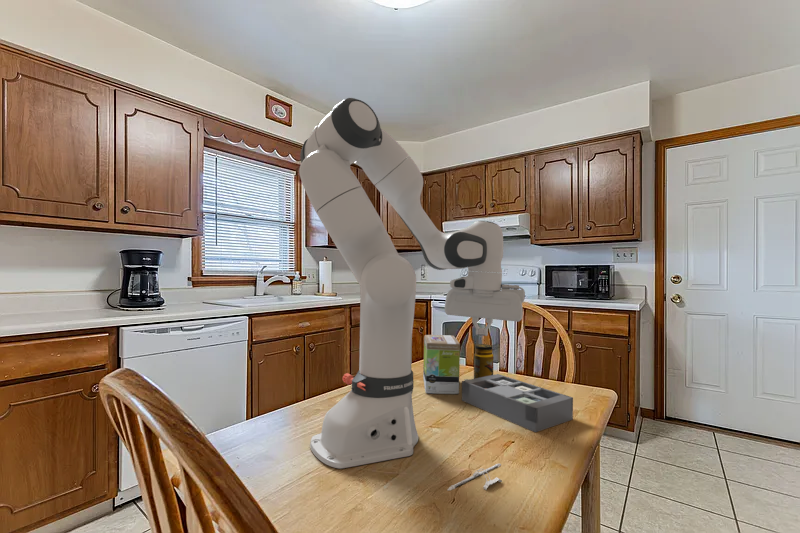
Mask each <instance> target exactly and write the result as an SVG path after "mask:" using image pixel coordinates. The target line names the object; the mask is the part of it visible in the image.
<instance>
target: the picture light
mask: <svg viewBox="0 0 800 533" xmlns="http://www.w3.org/2000/svg"><path fill="white" fill-rule="evenodd" d="M501 465H502V463H495V464H494V465H492V466H490V467H488V468H485V469H484V468H479V469H478V470H475V471H474V473H473V474H472V475H471V476H469V477H467V478H465V479H463V480H461V481H459V482H457V483H454V484H452V485H450V486H449V487H448V488H447V491H452V490H455V489H456V488H459V487H461V486H462V485H465V484H467V483H469V482H471V481H472V480H474V479H477V478H479V477H481V476H484V478H485V483H484V485H483V487H482V488H483V490H485V491H487V490H488V488H489V486H491V485H493V484H495V483H497V481H498V482H499V483H500V482H502V483H503V480H502V479H500V478H498V477H495V478H494V479H491V478H490V474H489V472H491V471H493V470H496V469H497V468H499V467H501ZM486 474H487V477H488V478H487V477H486ZM488 479H489V480H488Z"/></svg>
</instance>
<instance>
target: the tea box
mask: <svg viewBox="0 0 800 533" xmlns="http://www.w3.org/2000/svg"><path fill="white" fill-rule="evenodd" d="M460 356H461V343H460V342H459V340H458V339H457V338H456V337H455V335H450V334H449V335H444V334H425V335H424V337H423V373H422V374H423V376H422V377H423V384H424V391H425V394H432V395H433V394H434V395H437V394H438V395H459V393H460V364H461V363H460V361H461V359H460V358H461V357H460Z"/></svg>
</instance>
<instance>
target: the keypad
mask: <svg viewBox="0 0 800 533" xmlns="http://www.w3.org/2000/svg"><path fill="white" fill-rule="evenodd" d="M469 379H470V378H469ZM500 380H506V381H509V382H512V383H510V384H506V385H504V384H501V383H498V382H496V381H500ZM494 384H495V385H498V386H497V387H493V386H494ZM513 385H515V387H519V386H524V387H527V388H530V389H532V390H528V391H522V390H519V389H516V388H513V387H510V386H513ZM485 388H487V389H485ZM532 392H534V394H531V393H532ZM520 395H527V396H530V397H527V398H528V399H531V400H534V399H538V400H541V401H538V402H534V403H530V404H526V403H523V402H520V401H518V400H516V399H519V398H522V397H519V396H520ZM543 397H544V398H543ZM546 398H547V399H546ZM461 401H462V402H465V403H466V404H469V405H472V406H474V407H476V408H477V409H481V410H482V411H485V412H488V413H490V414H492V415H494V416H496V417H499V418H501V419H504V420H506V421H508V422H511V423H513V424H515V425H517V426H519V427H522V428H524V429H527V430H529V431H532V432H533V433H537V432H539V431H544V430H546V429H549V428H551V427H555V426H558V425H560V424H563V423H567V422H569V421H572V420H573V418H574V397H573V396H569V395H566V394H563V393H559V392H557V391H553V390H550V389H547V388H544V387H541V386H538V385H535V384H532V383H527V382H525V381H522V380H519V379H514V378H513V377H509V376H506V375H504V374H503V375H502V374H499V373H496V374H493V375H490V376H485V377H480V378H475V379H474V378H471V379H470V380H462V381H461Z"/></svg>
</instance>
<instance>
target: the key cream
mask: <svg viewBox="0 0 800 533" xmlns="http://www.w3.org/2000/svg"><path fill="white" fill-rule="evenodd" d="M515 388H516V389H519V390H522V391H528V390H532V389H530V388H527V387H524V386H519V387H515ZM531 394H534V392H532V393H531ZM519 397H522V398H523V397H525V398H527V397H530V396H527V395H520V396H519Z"/></svg>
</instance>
